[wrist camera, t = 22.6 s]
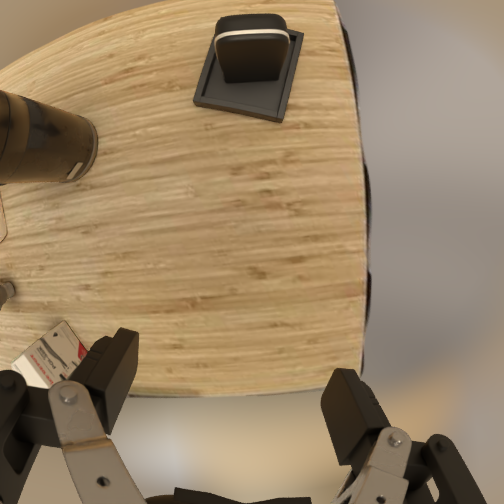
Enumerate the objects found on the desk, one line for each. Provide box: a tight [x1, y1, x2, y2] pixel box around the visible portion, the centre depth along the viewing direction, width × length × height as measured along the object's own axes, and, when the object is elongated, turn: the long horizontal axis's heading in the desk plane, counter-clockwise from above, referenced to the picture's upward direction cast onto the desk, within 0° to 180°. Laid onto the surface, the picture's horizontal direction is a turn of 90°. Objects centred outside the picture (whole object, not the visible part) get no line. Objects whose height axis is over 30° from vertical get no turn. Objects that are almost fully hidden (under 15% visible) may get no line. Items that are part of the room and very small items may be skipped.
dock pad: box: [193, 17, 304, 123], centre depth 30 cm, size 11×13×2 cm
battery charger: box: [215, 14, 290, 83], centre depth 25 cm, size 7×4×11 cm, turn 94°
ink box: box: [11, 321, 88, 389], centre depth 34 cm, size 9×5×12 cm, turn 32°
